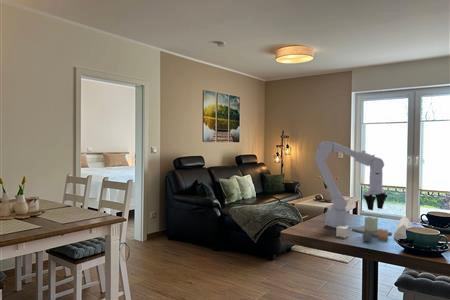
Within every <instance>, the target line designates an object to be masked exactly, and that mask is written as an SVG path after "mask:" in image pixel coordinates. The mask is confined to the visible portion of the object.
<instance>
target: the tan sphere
mask: <svg viewBox="0 0 450 300" xmlns="http://www.w3.org/2000/svg"><path fill="white" fill-rule="evenodd" d="M377 229H378V237H377V240H380V241H388V240H389V236H388V232H389V230H388V229H384V228H377Z"/></svg>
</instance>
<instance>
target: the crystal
mask: <svg viewBox="0 0 450 300" xmlns="http://www.w3.org/2000/svg"><path fill="white" fill-rule="evenodd" d="M411 227H413V228H414V226H413V224H412V223H411V221H410V219H409V218H407V216H403V217H401V218H400V219H399V221H398V222H397V223H396V228H395V231H394V235H393V238H394V239H395V240H397V241H400V240H399V239H406V229H407V228H411Z"/></svg>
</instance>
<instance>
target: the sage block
mask: <svg viewBox="0 0 450 300" xmlns="http://www.w3.org/2000/svg"><path fill="white" fill-rule="evenodd" d="M378 219H379V218H378V217H374V216H365V217H364V226H365V230H367V231H371V232H374V231H377V229H378V224H379V223H378V222H379V221H378Z"/></svg>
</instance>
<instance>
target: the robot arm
mask: <svg viewBox="0 0 450 300" xmlns="http://www.w3.org/2000/svg"><path fill="white" fill-rule="evenodd" d="M337 152H338V153H342V154H343V155H346V156H349V157H352V158H354V161H355V162H358V163H360V164H361V165H364V166H366V167H369V184H368V185H369V186H368V187H369V189H368V190H365V191H364V194H363V199H364V200H365V203H366V206H367V210H369V211H373V210H374V204H375V200H376V207H377V209H379V210H382V209H383V206H384V205H385V201H386V199H387V198H388V194H387V189H383V174H384V173H383V168H384V166H385V163H384V160H383V159H382V158H380V157H377V156H376V155H374V154H370V153H367V152H366V150H358V151H355V150H353V149H351V148H348V147H346V146H344V145H341V144H340V143H336V142H332V141H331V142H330V141H328V140H324V141H322V142H320V143H319V145H318V146H317V149H316V154H315V159H314V161H315V164H316V165H317V168H318V170H319V172H320V174H321V177H322V179H323V180H324V183H325V186H326V188H327V190H328V191H329V194H330V196H331V203H332V204H333V205H332V206H331V207H328V208H327V209H326V214H325V223H324V225H325V226H328V227H331V228H336V227H338V226H344V227H349V228H351V226H350V225H348V224H347V208H346V207H347V206H348V203H347V200H346V199H345V197H344V196H343V195H342V194H341V192H340V190H339V188H338V186H337V184H336V182H335V179H334V177H333V175H332V173H331V170H330V168H329V167H328V164H327V162H326V161H327V158H328V156H329V154H330V153H337Z"/></svg>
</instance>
